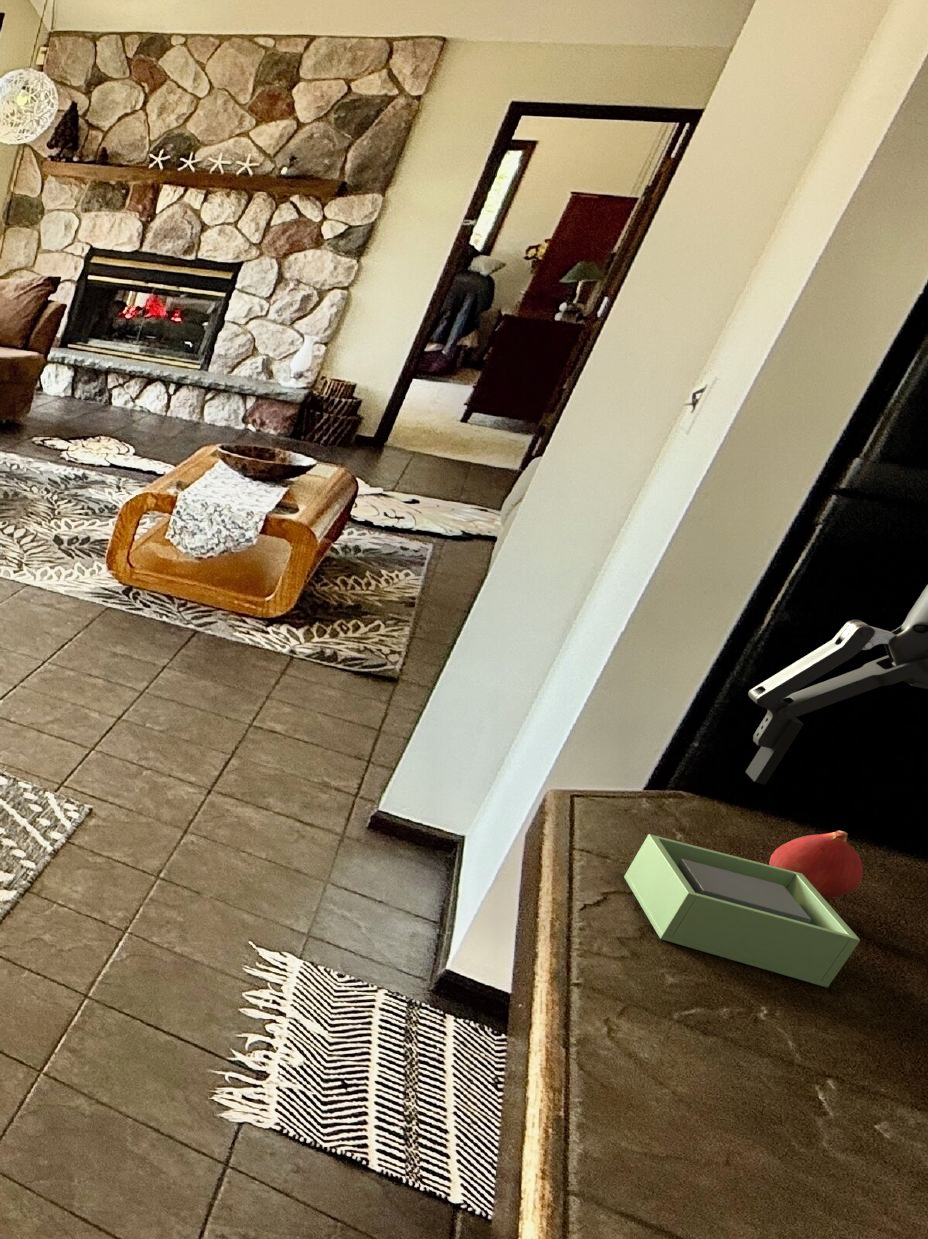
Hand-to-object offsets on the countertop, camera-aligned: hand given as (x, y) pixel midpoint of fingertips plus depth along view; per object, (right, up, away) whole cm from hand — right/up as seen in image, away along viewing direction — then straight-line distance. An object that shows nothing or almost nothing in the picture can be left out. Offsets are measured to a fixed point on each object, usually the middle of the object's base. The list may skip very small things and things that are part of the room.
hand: (853, 802), depth 109 cm
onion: (-1, -10, +4) cm, 11 cm away
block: (-15, -12, -2) cm, 19 cm away
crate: (-15, -12, -2) cm, 19 cm away
